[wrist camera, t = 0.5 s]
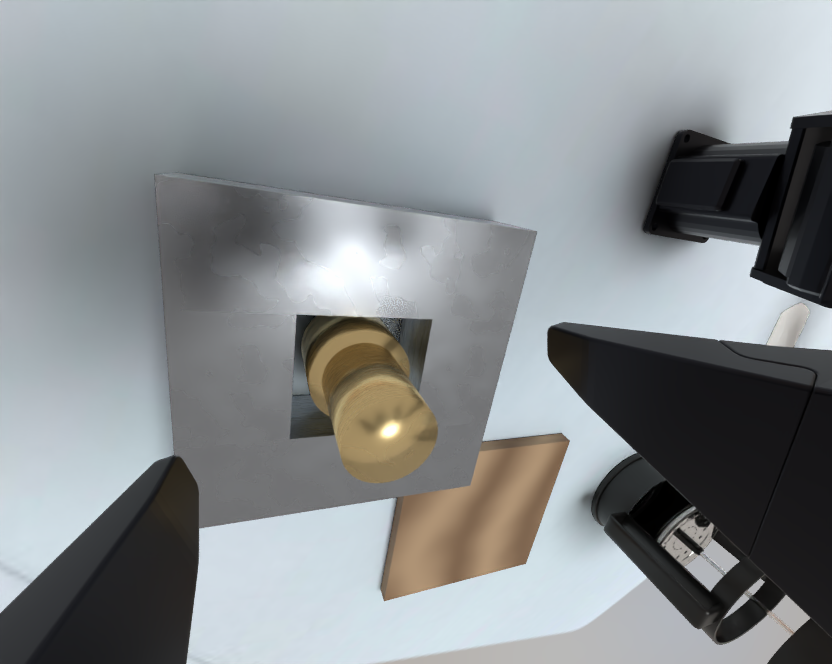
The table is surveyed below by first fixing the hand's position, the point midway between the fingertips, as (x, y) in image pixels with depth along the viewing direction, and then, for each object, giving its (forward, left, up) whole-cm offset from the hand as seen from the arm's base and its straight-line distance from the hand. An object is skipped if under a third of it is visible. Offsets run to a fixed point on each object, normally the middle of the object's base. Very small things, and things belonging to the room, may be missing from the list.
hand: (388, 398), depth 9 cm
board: (-14, +19, -13) cm, 27 cm away
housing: (-2, +4, -13) cm, 13 cm away
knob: (-2, +4, -13) cm, 13 cm away
